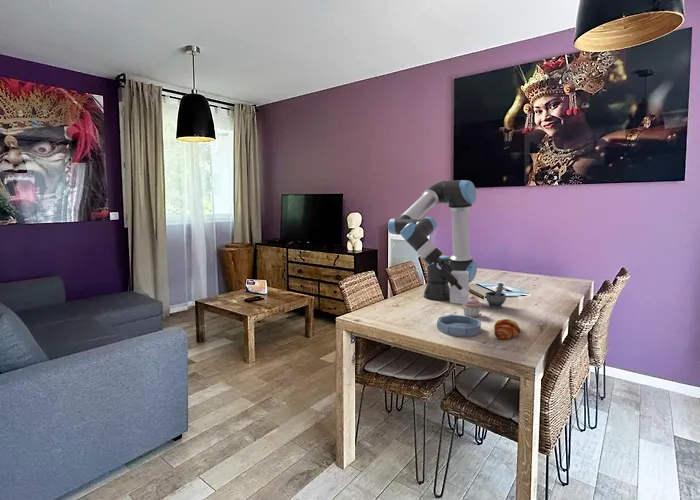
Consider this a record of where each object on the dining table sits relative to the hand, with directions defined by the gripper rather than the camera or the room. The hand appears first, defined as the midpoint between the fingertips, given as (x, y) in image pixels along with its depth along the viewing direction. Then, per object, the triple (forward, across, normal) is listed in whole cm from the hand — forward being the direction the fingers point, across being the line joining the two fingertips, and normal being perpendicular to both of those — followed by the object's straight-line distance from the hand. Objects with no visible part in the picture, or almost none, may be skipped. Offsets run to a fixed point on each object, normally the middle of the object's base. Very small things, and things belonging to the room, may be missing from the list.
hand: (467, 292), depth 167 cm
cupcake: (+12, -22, -11) cm, 28 cm away
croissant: (+23, 0, 0) cm, 23 cm away
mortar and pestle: (+20, -41, -4) cm, 46 cm away
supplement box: (+1, 0, -6) cm, 6 cm away
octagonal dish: (+9, 0, -14) cm, 17 cm away
